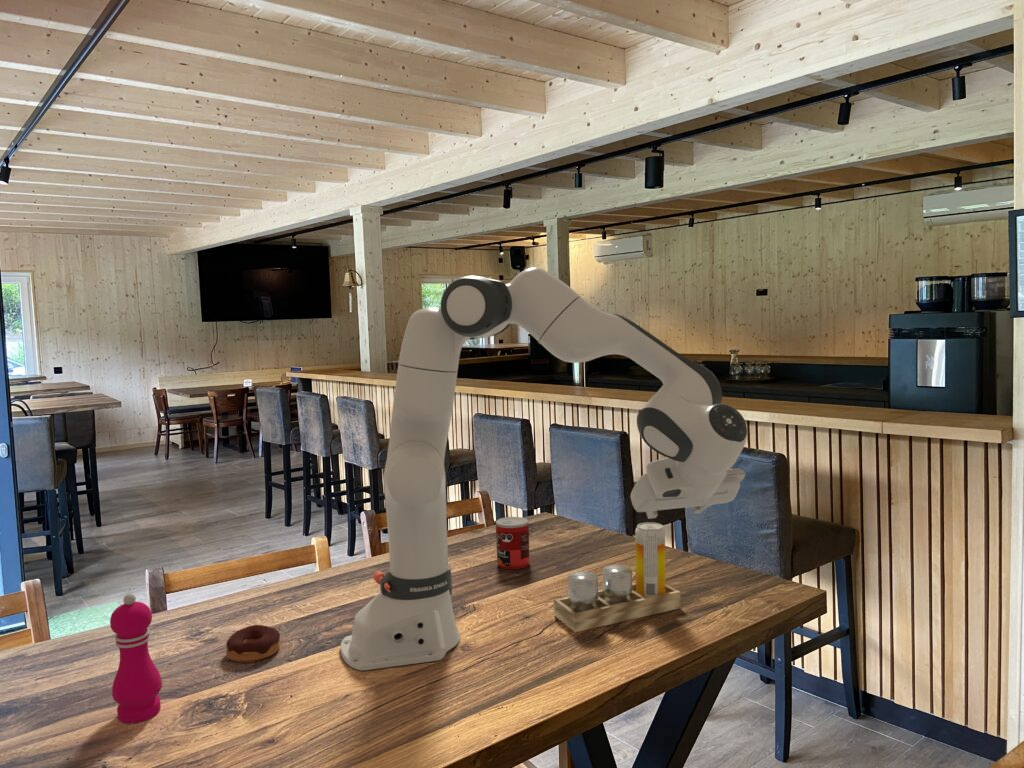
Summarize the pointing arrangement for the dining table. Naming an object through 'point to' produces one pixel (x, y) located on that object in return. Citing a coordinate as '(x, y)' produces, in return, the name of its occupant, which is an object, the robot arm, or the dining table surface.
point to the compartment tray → (616, 609)
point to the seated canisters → (586, 587)
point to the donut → (253, 644)
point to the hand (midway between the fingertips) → (673, 512)
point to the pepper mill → (134, 663)
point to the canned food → (512, 542)
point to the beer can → (650, 559)
